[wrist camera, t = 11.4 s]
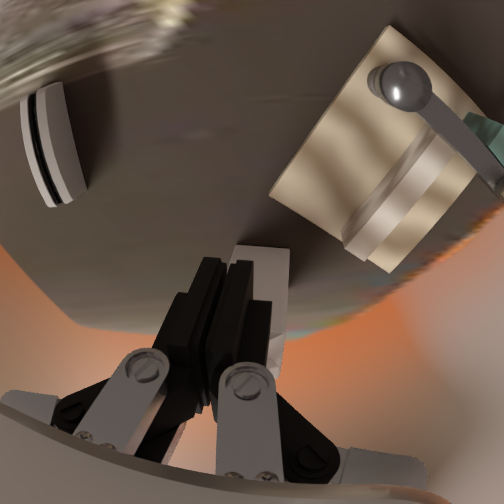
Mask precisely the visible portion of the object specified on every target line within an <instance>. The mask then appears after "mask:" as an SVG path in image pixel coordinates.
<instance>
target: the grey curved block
mask: <svg viewBox="0 0 504 504" xmlns="http://www.w3.org/2000/svg"><path fill="white" fill-rule="evenodd" d="M20 114H21V127H22V134H23V140H24V145H25V150H26V154H27V158H28V161H29V164H30V168H31V171H32V174H33V176H34V179H35V181H36V184H37V186H38V189H39V191H40V193H41V195H42V197H43V199H44V200H45V202H46V204H47V206H48V207H57V206H59V205H61V204H62V203H65V204H67V203H69V202H71V201H73V200H74V199H76V198H77V197H78V196H80V195H81V194H83V193H84V192H85V191H87V187H86V184H85V181H84V177H83V173H82V170H81V166H80V162H79V158H78V154H77V151H76V146H75V142H74V138H73V134H72V129H71V125H70V120H69V116H68V111H67V106H66V100H65V95H64V89H63V84H62V82H56V83H53V84H50V85H48V86H45V87H43V88H40V89H38V90H36V91H33V92H31V93H29V94H28V95H26V96H25V97H23V98H22V99H21V102H20Z"/></svg>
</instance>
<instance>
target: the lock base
mask: <svg viewBox="0 0 504 504" xmlns="http://www.w3.org/2000/svg"><path fill="white" fill-rule="evenodd" d="M400 61H408V62H413V63H415V64H417V65H419V66H420V67H422V68H423V69H424V70H425V71H426V73H427V74H428V76H429V78H430V80H431V84H432V92H433V93H434V94H436V95H437V96H438V97H439V98H440V99H441V100H442V101H443V102H444V103H445V104H446V105H447V106H448V107H449V108H450V109H451V110H452V111H453V112H454V113H455V114H456V115H457V116H458V117H459V118H460V119H461V120H462V121H463V122H464V123H465V124H466V125H467V126H468V127H469V128H470V129H471V131H472V132H473V133H474V134H475V135H476V136H477V137H478V138H479V139H480V141H481V142H482V143H483V144H484V145H485V146H486V147H487V149H488V150H489V151H490V152H491V153H492V155H493V156H494V157H495V158H496V159H497V161H498V162H499V163H500V164H501V166H502V167H503V168H504V125H503V124H501V123H498V122H496V121H493V120H491V119H488V118H487V117H486V116H485V114H484V113H483V112H482V111H481V110H480V109H479V108H478V106H477V105H476V104H475V103H474V102H473V101H472V100H471V99H470V98H469V96H468V95H467V94H466V93H465V92H464V91H463V90H462V89H461V88H460V87H459V86H458V85H457V84H456V83H455V82H454V81H453V80H452V79H451V78H450V77H449V76H448V75H447V74H446V73H445V72H444V71H443V70H442V69H441V68H440V67H439V66H438V65H437V64H436V63H434V62H433V61H432V60H431V59H430V58H429V57H428V56H427V55H426V54H424V53H423V52H422V51H421V50H420V49H419V48H417V47H416V46H415V45H414V44H413V43H411V42H410V41H409V40H408V39H407V38H405V37H404V36H403V35H402V34H400V33H399V32H398V31H397V30H395V29H394V28H393V27H391V26H390V25H389V26H387V27H385V29H384V30H383V31H382V33H381V34H380V35H379V37H378V38H377V40H376V41H375V42H374V44H373V45H372V46H371V48H370V49H369V51H368V52H367V53H366V55H365V56H364V57H363V59H362V60H361V62H360V63H359V64H358V66H357V67H356V69H355V70H354V71H353V73H352V74H351V75H350V77H349V78H348V80H347V81H346V82H345V84H344V85H343V87H342V88H341V89H340V91H339V92H338V94H337V95H336V96H335V98H334V99H333V101H332V102H331V104H330V105H329V106H328V108H327V109H326V111H325V112H324V113H323V115H322V116H321V118H320V119H319V121H318V122H317V123H316V125H315V126H314V128H313V129H312V130H311V132H310V133H309V135H308V136H307V138H306V139H305V141H304V142H303V143H302V145H301V146H300V148H299V149H298V151H297V152H296V153H295V155H294V156H293V158H292V159H291V161H290V162H289V164H288V165H287V166H286V168H285V169H284V171H283V172H282V174H281V175H280V177H279V178H278V180H277V181H276V182H275V184H274V185H273V187H272V188H271V190H270V192H269V196H271V197H272V198H274V199H276V200H277V201H279V202H280V203H282V204H284V205H285V206H287V207H289V208H290V209H292V210H293V211H295V212H297V213H298V214H300V215H301V216H303V217H305V218H306V219H308V220H309V221H311V222H312V223H314V224H316V225H317V226H319V227H320V228H322V229H323V230H325V231H327V232H328V233H330V234H331V235H333V236H334V237H336V238H337V239H339V240H340V241H342V242H343V245H344V249H346V250H347V251H349V252H351V253H352V254H354V255H355V256H357V257H358V258H360V259H361V260H363V261H365V260H366V259H367V258H368V259H369V260H370V261H372V262H373V263H375V264H376V265H378V266H379V267H381V268H382V269H384V270H385V271H387V272H388V273H390V272H391V271H392V270H393V269H394V268H395V267H396V266H397V265H398V264H399V263H400V262H401V261H402V260H403V259H404V258H405V257H406V256H407V254H408V253H409V252H410V251H411V250H412V249H413V248H414V247H415V246H416V245H417V244H418V242H419V241H420V240H421V239H422V238H423V237H424V236H425V235H426V234H427V232H428V231H429V230H430V229H431V228H432V227H433V226H434V224H435V223H436V222H437V221H438V220H439V219H440V217H441V216H442V215H443V214H444V213H445V212H446V210H447V209H448V208H449V207H450V206H451V204H452V203H453V202H454V201H455V200H456V198H457V197H458V196H459V195H460V193H461V192H462V191H463V190H464V188H465V187H466V186H467V185H468V183H469V182H470V181H471V180H472V178H473V177H474V176H475V174H476V173H475V172H474V171H473V170H472V169H471V168H470V167H469V166H468V165H467V164H466V162H465V161H464V160H463V159H462V158H461V157H460V156H459V155H458V154H457V153H456V152H455V151H454V150H453V149H452V148H451V147H450V146H449V145H448V144H447V143H446V142H445V141H444V140H443V139H442V138H441V137H440V136H439V135H437V134H436V133H435V132H434V131H433V130H432V129H431V128H430V127H429V126H428V125H427V124H425V123H424V122H423V121H422V120H421V119H420V118H419V117H418V116H416V115H415V114H414V113H413V112H405V111H402V110H399V109H397V108H394V107H392V106H390V105H388V104H386V103H385V102H384V101H383V100H382V99H381V98H380V97H379V95H378V93H377V91H376V88H375V77H376V74H377V72H378V70H379V69H380V68H381V67H382V66H383V65H385V64H387V63H389V62H400Z"/></svg>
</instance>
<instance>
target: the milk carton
mask: <svg viewBox="0 0 504 504" xmlns="http://www.w3.org/2000/svg"><path fill="white" fill-rule="evenodd" d="M237 259H238V260H251V261H254V284H253V300H265V301H272V317H271V329H270V339H269V348H268V356H267V365H266V368H267V369H268V370H269V371H270V372H271V373H272V375H273V376H274V380H275V379H277V378H278V377H279V375H280V370H281V364H282V356H283V349H284V341H285V332H286V317H287V300H288V281H289V260H290V249H284V248H272V247H259V246H246V245H235V248H234V251H233V254H232V257H231V260H230V263H235V264H236V261H237ZM230 263H229V266H230ZM228 269H229V267H228ZM227 272H228V270H227Z"/></svg>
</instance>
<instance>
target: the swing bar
mask: <svg viewBox="0 0 504 504" xmlns="http://www.w3.org/2000/svg"><path fill="white" fill-rule="evenodd" d="M375 88H376V91H377V93H378V95H379V97H380V98H381V99H382V100H383V101H384V102H385V103H386V104H388V105H390V106H392V107H394V108H397V109H399V110H402V111H405V112H413V113H414V114H415V115H416V116H418V117H419V118H420V119H421V120H422V121H423V122H424V123H425V124H427V125H428V126H429V127H430V128H431V129H432V130H433V131H434V132H435V133H436V134H437V135H439V136H440V137H441V138H442V139H443V140H444V141H445V142H446V143H447V144H448V145H449V146H450V147H451V148H452V149H453V150H454V151H455V152H456V153H457V154H458V155H459V156H460V157H461V158H462V159H463V160H464V161H465V162H466V164H467V165H468V166H469V167H470V168H471V169H472V170H473V171H474V172H475V173H476V174H477V175H478V177H479V178H480V179H481V180H482V181H483V182H484V183H485V185H486V186H487V187H488V188H489V189H490V190H491V192H492V193H493V194H494V195H495V196H496V197H497V198H498V199H500V200H501V201H502V202H503V203H504V168H503V167H502V166H501V164H500V163H499V162H498V161H497V159H496V158H495V157H494V156H493V155H492V153H491V152H490V151H489V150H488V149H487V147H486V146H485V145H484V144H483V143H482V142H481V141H480V139H479V138H478V137H477V136H476V135H475V134H474V133H473V132H472V131H471V129H470V128H469V127H468V126H467V125H466V124H465V123H464V122H463V121H462V120H461V119H460V118H459V117H458V116H457V115H456V114H455V113H454V112H453V111H452V110H451V109H450V108H449V107H448V106H447V105H446V104H445V103H444V102H443V101H442V100H441V99H440V98H439V97H438V96H437V95H436V94H434V93H433V92H432V84H431V80H430V78H429V76H428V74H427V73H426V71H425V70H424V69H423V68H422V67H420V66H419V65H417V64H415V63H413V62H408V61H400V62H389V63H387V64H385V65H383V66H382V67H381V68H380V69H379V70H378V72H377V74H376V77H375Z"/></svg>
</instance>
